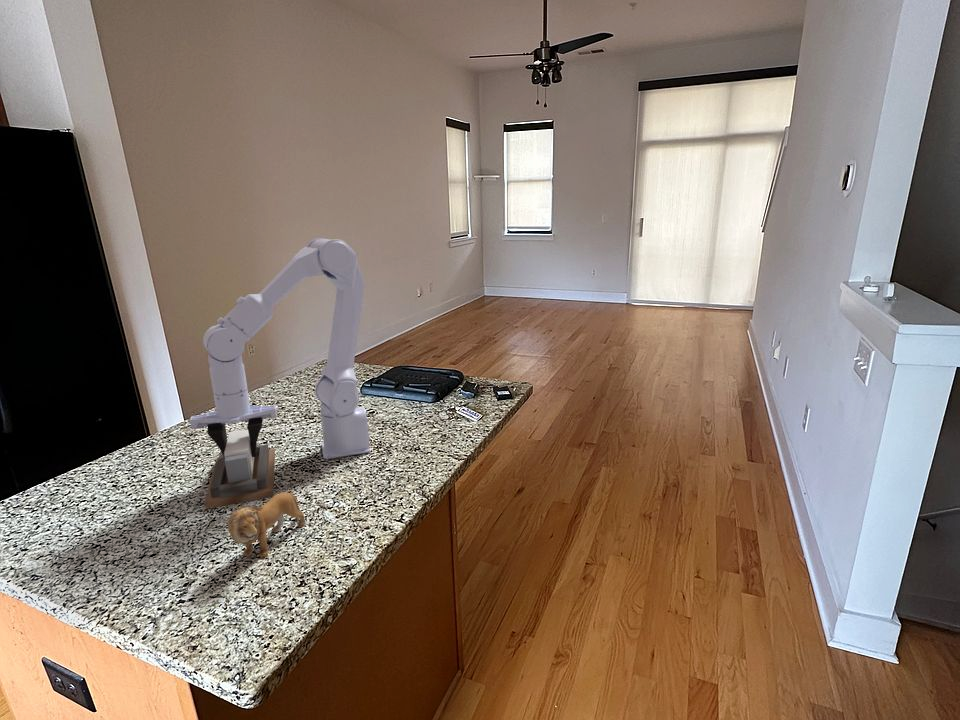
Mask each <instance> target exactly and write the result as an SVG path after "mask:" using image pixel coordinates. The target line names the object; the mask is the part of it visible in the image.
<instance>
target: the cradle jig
mask: <svg viewBox="0 0 960 720" xmlns="http://www.w3.org/2000/svg"><path fill="white" fill-rule="evenodd" d="M275 469H276V450H275V448H272V449H271V448H270V447H269V443H268V444H267V443H266V444H261V443H257V444H256V457H254V463H253V471H252V474H251V478H250V480H245V481H239V482H233V483H228V477H227V472H226V466H225V459H224V456H223V454H222V452H221V450H220V451H219V454H218V457H216V459H215V463H214V466H213V470H212V474H211V477H210V480H209V484H208V489H207V492H206V495H205V498H204V502H203V504H204V509H205V510H207V509H211V508H217V507H223V506H229V505H233V504H240V503H244V502H250V501H255V500H256V501H257V500H262V499H266V498H272V497H273V496H275V494H274V491H275V488H274V487H275V472H276V471H275Z"/></svg>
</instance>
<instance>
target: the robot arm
mask: <svg viewBox="0 0 960 720" xmlns="http://www.w3.org/2000/svg"><path fill="white" fill-rule="evenodd" d="M323 275H325V276H326V277H327V279H328V280H330V282H331V283H332V284H333V285H334V286H335V288H336V294H335V302H334V308H333V309H334V310H333V317H332V323H331V324H332V325H331V331H330V339H329V347H328V355H327V362H326V364H325V366H324V367H323V369H321V370H322V371H321V375H320V378H319V379H318V381H317V382H316V385H315V389H314V393H315V397H316V398H317V399H318V400H319V402H321V407H320V409H319V411H320V420H321V431H322V432H321V433H322V438H323V442H321V450H322V456H323V459H324V460H331V459H336V458H343V457H348V456H354V455H360V454H367V453H369V452H371V448H370V432H369V424H368V423H369V421H368V417H367V411H366V408H365V406H359V407H358V405H359V403H360V395H359V391H358V389H357V383H358V379H357V376H356V373H355V370H354V366H355V365H354V364H355V358H356V357H355V356H356V351H357V350H356V349H357V343H358V338H359V337H358V335H359V327H360V321H361V315H362V309H363V308H362V307H363V299H364V293H365V287H366V286H365V285H366V282H365V279H364V276H363V274H362V272H361V269H360V265H359V263H358V254H357V253H356V252H355V251H354V250H353V249H352V247H351V246H350V245H349V244H348V243H347V242H345V241H344V240H343V239H336V238H335V239H329V238H325V237H316V238H314V239H312V240H311V241H310V242H309V243H308V245H307V246H304V247H302V248H300V250H299V251H297V253H296V254H295V255H294V256H293V257H292V258H291V259H290V260H289V261H288V263H287V264H286V265H285V266H284V267H283V268H282V269H281V270H280V271H279V272H278V273H277V274H276V275H275V277H273V278H272V279H271V281H270V282H269V283H268V284H267V285H266V286H265V287H264V288H263V289H262V290H260V292H259V293H254V294H253V293H252V294H251V293H249V294H247V295H246V296H245V297H243V296H239V297H238V299H236V300H235V302H236V303H237V305H236V306H235V307H233V308H232V309H231V310H230V311H229V312H228V313H227V314H226V315H225V316H224V317H223V318H222V317H221V316H220V317H219V318H218V319H217V320H216V322H217V323H218V324H216V325H212V326H210V327H209V328H207V329H206V331H205V332H204V334H203V338H202V341H201V343H202V346H203V348H204V349H205V350H206V351H207V352H208V354H207V356H208V359H207V360H208V361H207V362H208V366H209V370H208V371H209V376H210V381H211V382H210V383H211V387H212V392H213V393H212V394H213V399H214V400H213V401H214V404H215V405H214V406H215V411H211V412H208V413H206V412H205V413H203V414H197V415H191V417H190V419H189V423H190V429H191V430H197V429H199V428H204V427H207V431H206V432H207V435H208V436H209V438H211V440H212V441H213V442H214V443H215V444H216V445H217V447H218V449H219V450H220V451H221V452H222V454H223V456H224V452H225V448H226V444H227V440H228V436H227V430H226V424H227V425H231V424H232V425H233V424H238V423H239V422H241V423H242V422H247V428H246V429H248V432H249V437H250V442H251V454H252V457H256V444H258V439H259V436H260V432H261V430H262V426H263V420H264V419H271V420H272V419H277V417H278V413H277V412H278V411H277V405H260V406H258V405H255V406H254V405H253V406H252V405H250V404H251V403H250V397H249V391H248V390H249V388H248V385H247V384H248V383H247V378H246V377H247V375H246V370H245V364H244V363H243V358H242V357H243V355H242V354H243V353H244V351H245V346H246V344H245V343H246V342H249V341H251V339H252V338H253V337H254V336H255V335H256V334H257V333H258V332H259V331H260V330H261V329H262V328H263V327H264V326H265V325H266V324H268V322H269V321H270V320H271V319H272V318H273V317H274V306H276V305H277V304H278V303H279V302H280V301H281V300H282V299H283V298H284V297H285V296H287V295H288V294H289V293H290V292H291V291H292V290H294V289H295V287H297V286H298V285H299V284H300V283H301V282H302V281H303V280H305V279H306V278H311V277H312V278H313V277H317V276H323ZM224 459H225V456H224Z"/></svg>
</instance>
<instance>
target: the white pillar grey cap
mask: <svg viewBox="0 0 960 720" xmlns="http://www.w3.org/2000/svg"><path fill="white" fill-rule="evenodd" d="M224 456H225V466H226V472H227V477H228V483H233V482H239V481H245V480H250V478H251V474H252V471H253V463H254V457H252V454H251V442H250V437H249V432H248V428H246V429H240V430H234V431H229V432H228V436H227V444H226V448H225V452H224Z"/></svg>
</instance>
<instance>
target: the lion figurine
mask: <svg viewBox="0 0 960 720" xmlns="http://www.w3.org/2000/svg"><path fill="white" fill-rule="evenodd" d="M284 515H286V516H288V517H291V518H295V519H299V521H298V522H297V525H296V526H297V527H298V528H302V527H304V526H306V520H305V519H306V518H305V516H304V513H303V511H302V510H300V507H299V503H298V501H297V498H296V496H294V494H293V493H290V492H282V493H278V494H274V496H273V497H270V499H269V500H268V501H267V502H265V504H262V505H261V506H260V507H259V506H258V507H257V506H255V505H251V506H243V507H240V508H237V509H236V510H235V511H233V512H232V513H231V514H230V517H229V519H227V531H228V533H229V534H230V537H231V539H232V540H233V541H234V542H235V543H236V544H239V545H240V544H243V545H245V548H246V549H245V550H243V553H242V554H243V556H245V557H248V556H250V555H252V553H253V551H254V544H253V543H255V542H256V541H258V543H259V552H260V553H259V557H261V558H265V557H268V556H269V548H268V545H267V530H269V529H271V532H274V533H277V532H279V531H280V530H281V528H282V525H283V523H284V521H285V517H284ZM276 523H277V524H276ZM275 524H276V525H275ZM274 525H275V526H274Z"/></svg>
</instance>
